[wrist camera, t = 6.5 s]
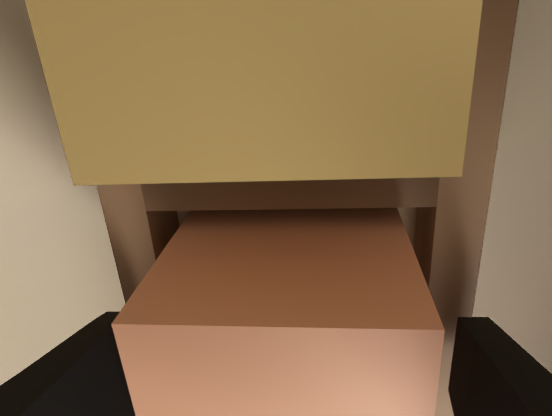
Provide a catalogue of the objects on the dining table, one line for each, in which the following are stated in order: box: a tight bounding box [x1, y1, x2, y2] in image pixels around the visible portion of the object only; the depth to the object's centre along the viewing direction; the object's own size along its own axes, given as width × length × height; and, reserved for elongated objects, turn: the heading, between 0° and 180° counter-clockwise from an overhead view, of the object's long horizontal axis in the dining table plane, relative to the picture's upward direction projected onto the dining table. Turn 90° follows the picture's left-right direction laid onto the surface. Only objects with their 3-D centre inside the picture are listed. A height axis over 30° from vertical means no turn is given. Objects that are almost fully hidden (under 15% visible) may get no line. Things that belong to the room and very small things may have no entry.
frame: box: [97, 0, 519, 416], centre depth 11 cm, size 23×8×3 cm, turn 3°
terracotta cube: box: [111, 208, 445, 416], centre depth 10 cm, size 5×5×5 cm
